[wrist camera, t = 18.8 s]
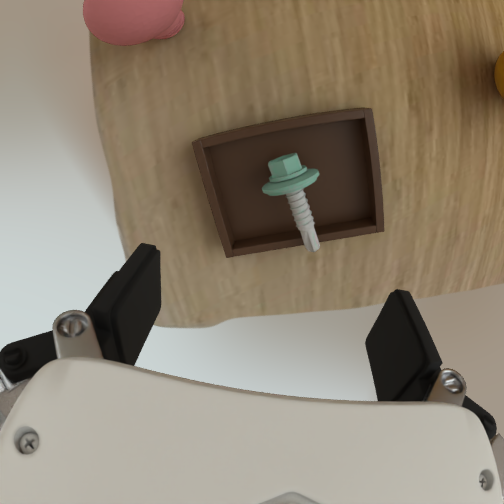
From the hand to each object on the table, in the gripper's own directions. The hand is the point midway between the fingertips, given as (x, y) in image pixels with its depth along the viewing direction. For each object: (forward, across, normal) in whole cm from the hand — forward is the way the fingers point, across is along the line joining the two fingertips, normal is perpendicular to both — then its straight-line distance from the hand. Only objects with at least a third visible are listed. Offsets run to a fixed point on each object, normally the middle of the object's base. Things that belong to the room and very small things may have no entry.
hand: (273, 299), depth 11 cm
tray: (+18, -2, 0) cm, 19 cm away
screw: (+18, -2, +2) cm, 18 cm away
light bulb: (+19, +12, -14) cm, 26 cm away
